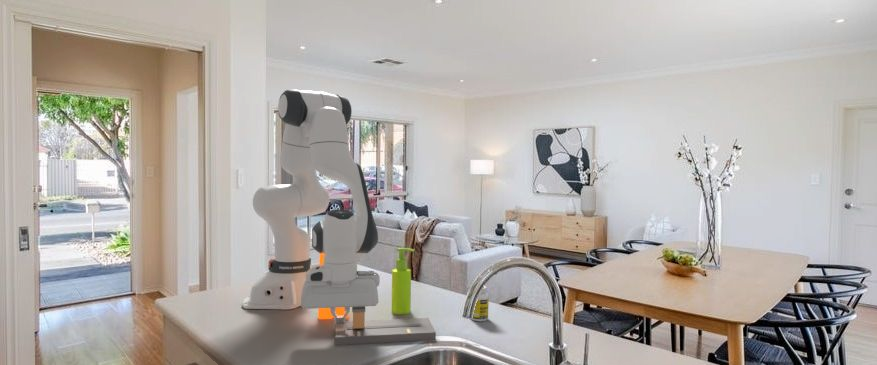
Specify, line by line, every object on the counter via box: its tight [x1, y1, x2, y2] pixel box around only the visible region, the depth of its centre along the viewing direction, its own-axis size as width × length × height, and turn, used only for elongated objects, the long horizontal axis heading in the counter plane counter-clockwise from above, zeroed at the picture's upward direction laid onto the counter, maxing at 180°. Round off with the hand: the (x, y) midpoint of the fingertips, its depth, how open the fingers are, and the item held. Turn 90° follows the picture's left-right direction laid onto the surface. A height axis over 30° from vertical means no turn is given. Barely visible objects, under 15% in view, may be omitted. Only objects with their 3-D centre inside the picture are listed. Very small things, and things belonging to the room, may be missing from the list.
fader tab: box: [351, 306, 366, 329], centre depth 129 cm, size 3×5×5 cm, turn 11°
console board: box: [334, 317, 437, 346], centre depth 131 cm, size 26×12×2 cm, turn 100°
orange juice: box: [317, 253, 350, 320], centre depth 146 cm, size 8×9×20 cm
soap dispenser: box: [391, 247, 415, 316], centre depth 150 cm, size 6×7×20 cm
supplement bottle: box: [471, 285, 490, 322], centre depth 145 cm, size 5×5×10 cm
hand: (340, 323), depth 128 cm, fingers closed
